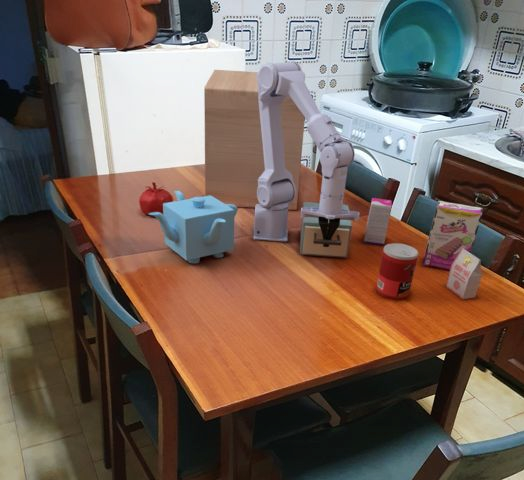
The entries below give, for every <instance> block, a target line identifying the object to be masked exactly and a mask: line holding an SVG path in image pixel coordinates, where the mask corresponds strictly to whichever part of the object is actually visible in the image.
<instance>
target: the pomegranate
mask: <svg viewBox="0 0 524 480" xmlns="http://www.w3.org/2000/svg"><path fill="white" fill-rule="evenodd" d="M151 184H152V187H151V186H147V185H146V186H145V188H146V189H145V190H144V191H143V192H142V193H141V195H140V196H139V199H138V203H139V207H140V211H141V212H142V213H143V214H144V215H147V216H150V215H149V213H152V212H160V213H162V214H163V204H164V203H169V202H174V197H173V196H172V194H171V192H169V191H168V190H166V189H164V188H163V186H160V187H158V185H157V184H156V182H155V181H151ZM157 187H158V188H157Z"/></svg>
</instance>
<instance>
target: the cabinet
mask: <svg viewBox="0 0 524 480" xmlns="http://www.w3.org/2000/svg"><path fill="white" fill-rule="evenodd" d="M319 204H320V202H312V201H303V202H302V208H314V207H319ZM342 209H344V210H350V209H349V204H343V206H342ZM300 224H301V225H300V237H299V240H300V241H299V254H300V255H303V256H316V257H329V258H330V257H331V258H343V259H347V258H348V254H349V249H350V243H351V236H352V235H351V234H352V229H353V228H352V227H353V223H352V220H340V225H339V227H338V228H346V229H349V237H348V244H347V250H346V257H344V256H331V255H317V254H304V253H303V244H304V234H305V226H306V225H310V226H320V225H319V220H318V218H313V217H305V218H301V223H300ZM328 226H329V219H328Z"/></svg>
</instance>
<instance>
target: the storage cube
mask: <svg viewBox="0 0 524 480" xmlns="http://www.w3.org/2000/svg"><path fill="white" fill-rule="evenodd" d="M258 72H259V71H243V70H227V69H214V70H213V71H212V73H211V75H210V77H209V78H208V79H207V82H206V83H205V85H204V91H203V92H204V93H203V94H204V95H203V97H204V100H203V101H204V196H210V195H211V196H212V197H214V198H216V199H217V200H219V201H221V202H222V203H224V204H233V205H235V206H236V207H237V208H251V209H255V206H256V204H260V203H259V201H258V198H257V189H258V178H259V177H260V176H261V175H262V173H263V172H264V171H265V164H264V154H263V143H262V132H261V122H260V111H259V100H258V97H259V94H258V83H257V74H258ZM280 109H281V122H282V135H283V147H284V160H285V169H286V170H288V171H289V172H290V173H291V174H292V178H293V183H294V185H295V188H296V195H295V198H294V199H293V200H292V201H291V205H289V206H288V211H297V208H298V196H299V187H300V177H301V176H300V175H301V168H302V167H301V166H302V155H303V144H304V133H305V123H306V122H305V120H306V118H305V117H304V115H303V114H302V113H301V111H300V110H299V108H298V107H297V106H296V104H295V103H294V101H293V100H292V99H291V97H285V99H284V100H283V102H282V103H281V105H280ZM277 181H279V180H277ZM274 182H275V181H274Z"/></svg>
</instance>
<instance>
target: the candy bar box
mask: <svg viewBox="0 0 524 480" xmlns="http://www.w3.org/2000/svg"><path fill="white" fill-rule="evenodd" d="M483 210H484V209H483V207H479V206H475V205H474V206H473V205H466V204H461V203H455V202H449V201H443V200H438V201H437V205H436V208H435V212H434V216H433V219H432V223H431V227H430V231H429V236H428V238H427V244H426V247H425V250H424V255H423V259H422V266H424V267H425V266H426V267H429V268H430V267H431V268H436V269H440V270H441V269H442V270H445V271H450V268H451V265H452V263H453V262H454V260H455V259H456V257H457V256H458V254H459V252H460V250H461V248H462V249H465V250H466V251H468V252H469V253H471V254H472V249H473V246H474V243H475V240H476V237H477V233H478V230H479V227H480V224H481V220H482V216H483V212H484V211H483Z"/></svg>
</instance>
